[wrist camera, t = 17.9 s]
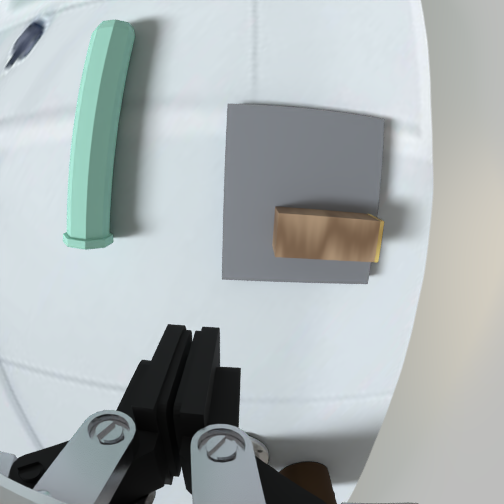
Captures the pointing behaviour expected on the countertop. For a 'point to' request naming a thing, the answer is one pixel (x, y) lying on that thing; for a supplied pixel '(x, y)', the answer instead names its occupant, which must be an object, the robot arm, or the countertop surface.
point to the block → (326, 235)
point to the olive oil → (312, 479)
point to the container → (97, 135)
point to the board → (295, 185)
